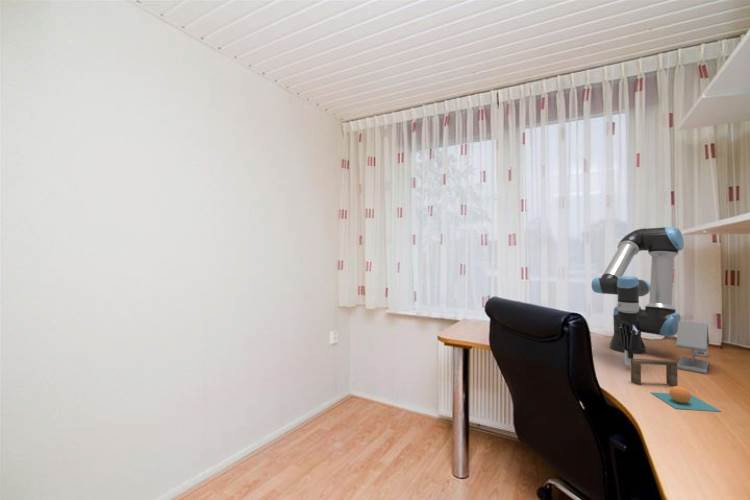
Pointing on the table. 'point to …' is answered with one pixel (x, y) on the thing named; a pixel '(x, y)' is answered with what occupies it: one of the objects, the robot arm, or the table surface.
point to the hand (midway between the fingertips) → (629, 364)
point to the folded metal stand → (692, 345)
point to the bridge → (670, 364)
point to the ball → (680, 394)
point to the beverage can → (701, 352)
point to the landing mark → (691, 405)
